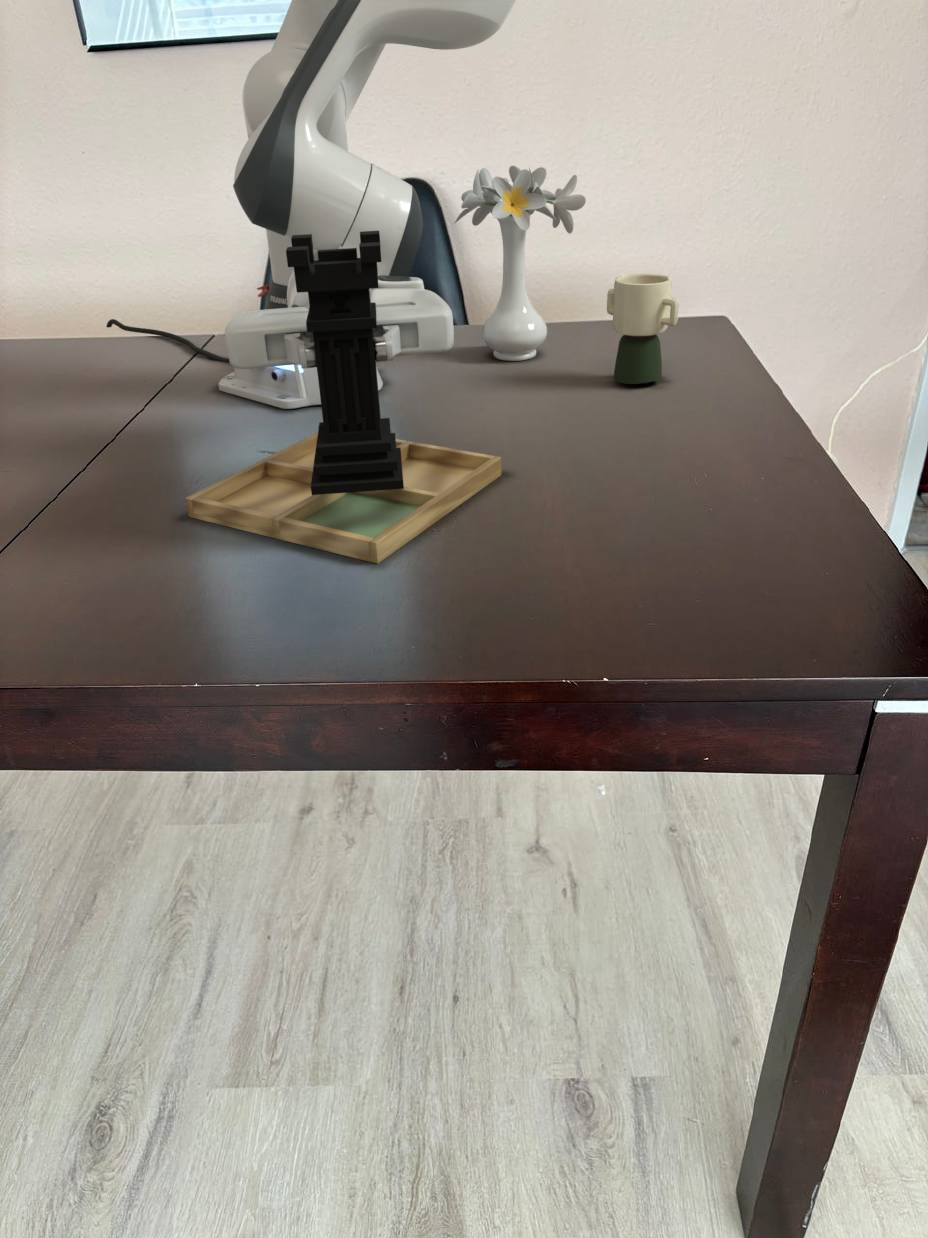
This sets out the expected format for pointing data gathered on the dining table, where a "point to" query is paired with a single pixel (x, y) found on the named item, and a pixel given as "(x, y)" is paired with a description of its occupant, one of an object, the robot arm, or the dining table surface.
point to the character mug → (641, 324)
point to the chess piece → (346, 367)
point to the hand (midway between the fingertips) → (347, 355)
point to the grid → (344, 499)
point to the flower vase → (517, 251)
